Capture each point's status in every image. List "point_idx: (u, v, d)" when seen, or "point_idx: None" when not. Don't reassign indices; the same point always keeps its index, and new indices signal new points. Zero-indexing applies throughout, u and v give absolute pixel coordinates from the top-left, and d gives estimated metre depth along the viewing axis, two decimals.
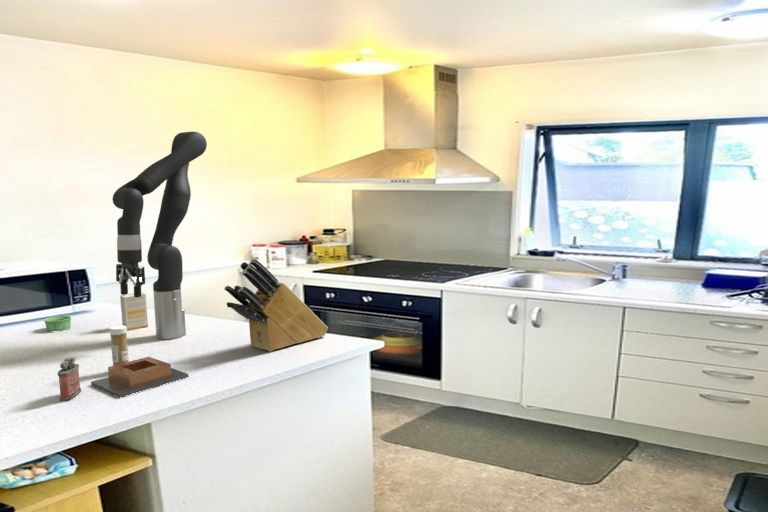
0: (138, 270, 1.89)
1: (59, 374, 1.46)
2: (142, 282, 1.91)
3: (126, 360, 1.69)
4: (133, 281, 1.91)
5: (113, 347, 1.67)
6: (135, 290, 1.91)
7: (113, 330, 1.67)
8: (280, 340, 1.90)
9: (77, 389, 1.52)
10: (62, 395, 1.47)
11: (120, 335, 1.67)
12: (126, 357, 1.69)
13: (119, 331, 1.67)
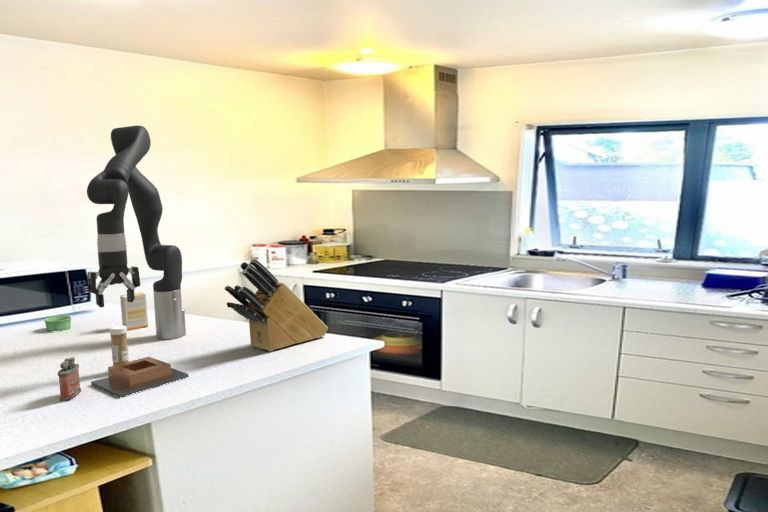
0: None
1: (59, 374, 1.46)
2: None
3: (126, 360, 1.69)
4: (130, 284, 1.69)
5: (113, 347, 1.67)
6: (132, 294, 1.70)
7: (113, 330, 1.67)
8: (280, 340, 1.90)
9: (77, 389, 1.52)
10: (62, 395, 1.47)
11: (120, 335, 1.67)
12: (126, 357, 1.69)
13: (119, 331, 1.67)
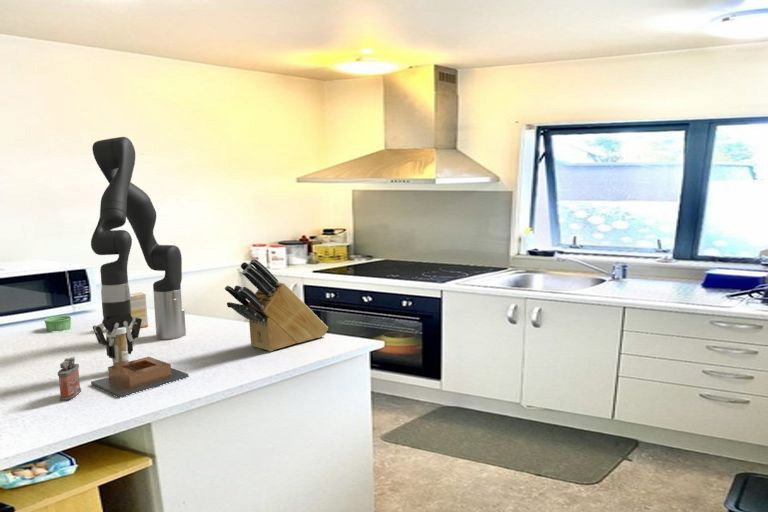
0: None
1: (59, 374, 1.46)
2: None
3: (126, 360, 1.69)
4: (129, 335, 1.70)
5: None
6: (130, 346, 1.71)
7: None
8: (280, 340, 1.90)
9: (77, 389, 1.52)
10: (62, 395, 1.47)
11: (120, 335, 1.67)
12: (126, 357, 1.69)
13: (119, 331, 1.67)
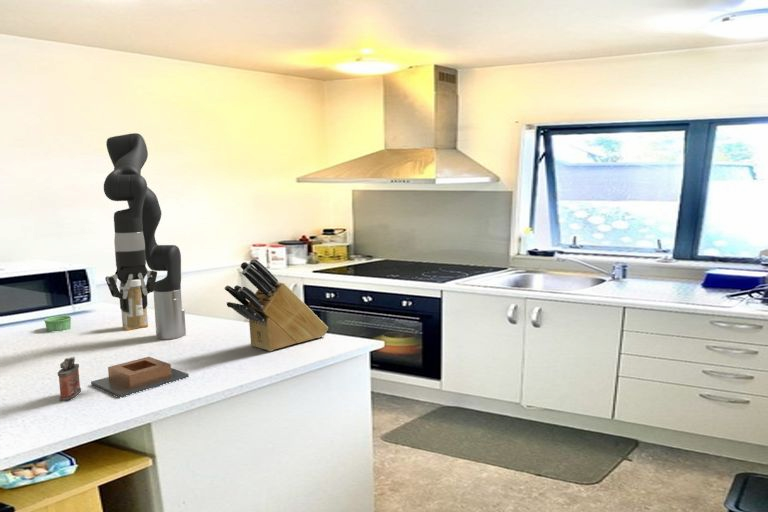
0: None
1: (59, 374, 1.46)
2: None
3: (141, 315, 1.58)
4: (144, 289, 1.59)
5: None
6: (145, 300, 1.60)
7: None
8: (280, 340, 1.90)
9: (77, 389, 1.52)
10: (62, 395, 1.47)
11: (134, 287, 1.56)
12: (141, 312, 1.58)
13: (133, 283, 1.56)
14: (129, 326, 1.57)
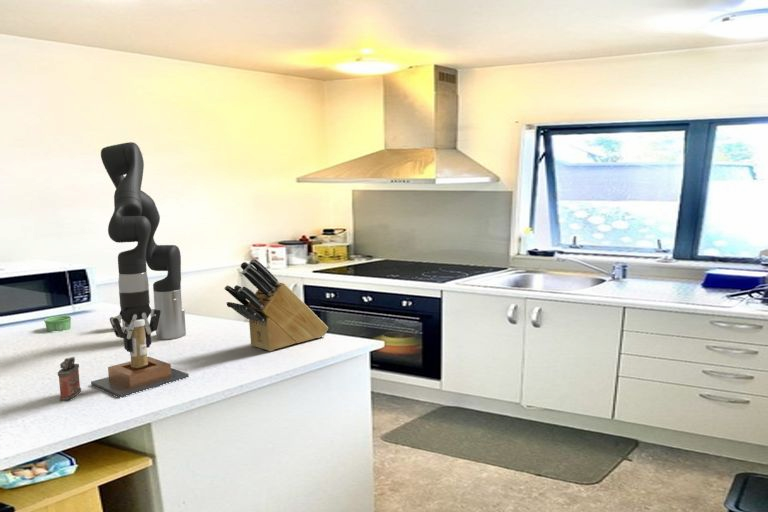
0: None
1: (59, 374, 1.46)
2: None
3: (144, 354, 1.60)
4: (148, 328, 1.61)
5: None
6: (148, 339, 1.62)
7: None
8: (280, 340, 1.90)
9: (77, 389, 1.52)
10: (62, 395, 1.47)
11: (138, 327, 1.58)
12: (144, 351, 1.60)
13: (137, 323, 1.57)
14: (133, 365, 1.59)
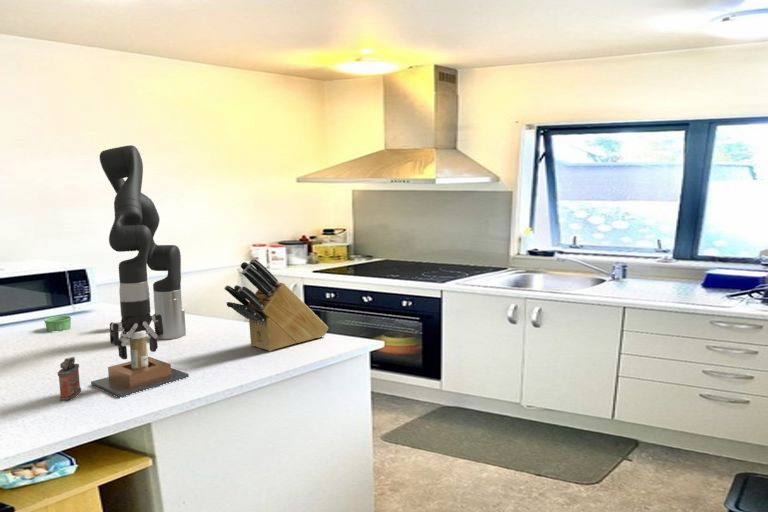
0: None
1: (59, 374, 1.46)
2: None
3: (146, 365, 1.60)
4: (153, 333, 1.62)
5: (132, 352, 1.59)
6: (155, 343, 1.63)
7: (132, 334, 1.58)
8: (280, 340, 1.90)
9: (77, 389, 1.52)
10: (62, 395, 1.47)
11: (140, 339, 1.58)
12: (146, 362, 1.60)
13: (138, 335, 1.58)
14: None
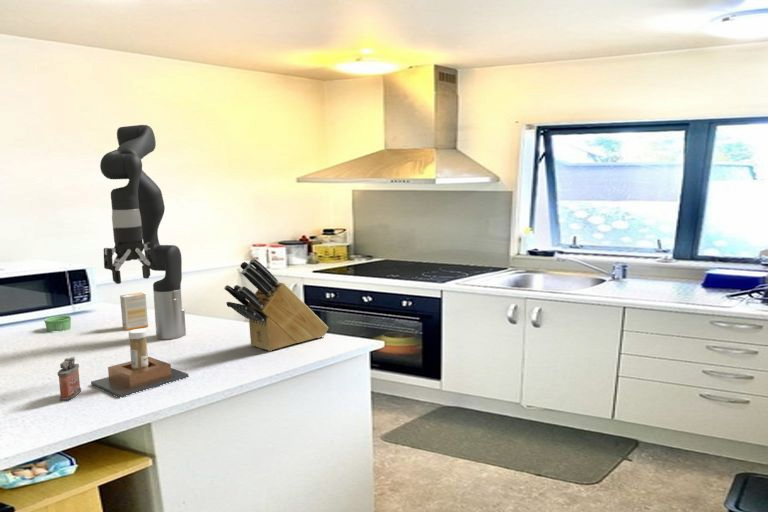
0: None
1: (59, 374, 1.46)
2: None
3: (146, 365, 1.60)
4: (146, 260, 1.68)
5: (132, 352, 1.59)
6: (148, 270, 1.69)
7: (132, 334, 1.58)
8: (280, 340, 1.90)
9: (77, 389, 1.52)
10: (62, 395, 1.47)
11: (140, 339, 1.58)
12: (146, 362, 1.60)
13: (138, 335, 1.58)
14: None
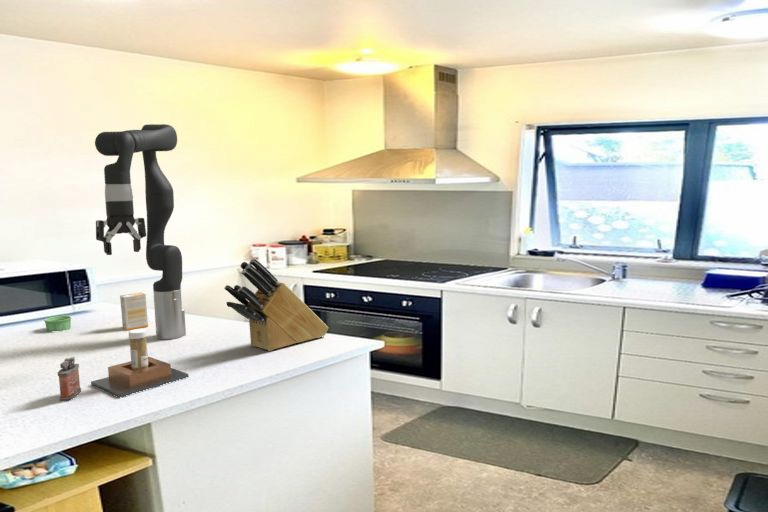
0: None
1: (59, 374, 1.46)
2: None
3: (146, 365, 1.60)
4: (136, 234, 1.76)
5: (132, 352, 1.59)
6: (138, 244, 1.77)
7: (132, 334, 1.58)
8: (280, 340, 1.90)
9: (77, 389, 1.52)
10: (62, 395, 1.47)
11: (140, 339, 1.58)
12: (146, 362, 1.60)
13: (138, 335, 1.58)
14: None
